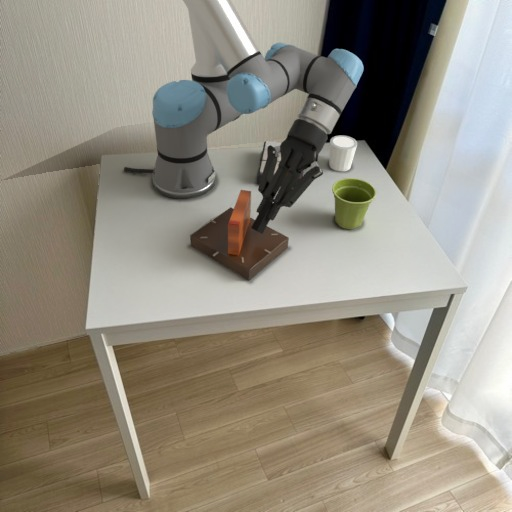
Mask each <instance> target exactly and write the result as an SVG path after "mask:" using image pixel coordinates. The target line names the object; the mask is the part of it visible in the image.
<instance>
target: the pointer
mask: <svg viewBox="0 0 512 512" xmlns="http://www.w3.org/2000/svg"><path fill="white" fill-rule="evenodd" d="M251 206H252V190H246V189H240V191H239V194H238V197H237V199H236V202H235V205H234V206H233V209H234V210H233V213H232V215H231V218H230V221H229V224H228V254H231V255H238V256H239V253H240V250H241V247H242V244H243V240H244V237H245V234H246V231H247V228H248V225H249V222H250V218H251Z"/></svg>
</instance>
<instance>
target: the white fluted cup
mask: <svg viewBox="0 0 512 512" xmlns="http://www.w3.org/2000/svg"><path fill="white" fill-rule="evenodd" d="M357 146H358V141H357V140H356V139H355V138H353V137H351V136H349V135H335V136H332V137H331V138H330V139H329V158H328V159H329V160H328V165H329V168H330V169H332V170H333V171H336V172H347V171H349V170H351V167H352V165H353V164H352V163H353V160H354V157H355V153H356V150H357V148H358V147H357Z"/></svg>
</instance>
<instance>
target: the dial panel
mask: <svg viewBox="0 0 512 512" xmlns="http://www.w3.org/2000/svg"><path fill="white" fill-rule="evenodd" d="M233 210H234V207H231V206H230V207H229V208H227V209H226V210H224V211H223V212H222V213H220V214H219V215H217V216H216V217H214V218H213V219H210V220H209V222H206V224H204V225H202V226H201V227H200V228H199V229H197V230H196V231H193V233H191V234H190V235H189V239H190V240H189V241H190V247H192V248H193V249H195V250H197V251H198V252H199V253H202V254H204V255H205V256H207V257H208V258H210V259H212V260H213V261H215V262H217V263H219V264H220V265H222V266H223V267H225V268H227V269H229V270H230V271H232V272H233V273H235V274H237V275H239V276H240V277H241V278H244V279H245V280H247V281H251V280H252V279H253V278H255V276H256V275H258V274H259V273H260V272H261V271H263V270H264V269H265V268H267V266H269V265H270V264H271V263H272V262H273V261H275V260H276V259H277V258H278V257H280V255H282V254H283V253H284V252H285V251H286V250H287V249H288V247H289V239H290V237H289V236H287V235H285V234H283V233H281V232H279V231H277V230H276V229H273V228H271V227H269V226H268V225H267V226H266V228H265V230H264V232H263V234H261V233H259V232H257V231H256V230H254V229H252V228H251V227H252V225H253V223H254V221H255V220H256V219H254V218H252V217H250V222H249V225H248V228H247V231H246V234H245V237H244V240H243V244H242V247H241V250H240V253H239V256H238V255H231V254H228V224H229V221H230V218H231V215H232V213H233Z"/></svg>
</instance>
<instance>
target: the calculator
mask: <svg viewBox="0 0 512 512" xmlns="http://www.w3.org/2000/svg"><path fill="white" fill-rule="evenodd" d="M281 143H282V142H279V141H270V140H265V141H264V142H263V145H262V150H261V156H260V159H259V165H258V168H257V169H258V170H257V175H256V176H257V178H256V180H257V181H256V183H257V185H259V184H260V180H261V177H262V174H263V170H264V167H265V163H266V160H267V157H268V155H267V147H268V146H270V145H271V146H273V147H276V146H280V145H281ZM280 161H281V153H280V156H279V157H277V164H276V167H275V171H274V174H275V173H276V171H277V169H278V165H279V163H280ZM274 174H273V176H274ZM287 174H288V173H287ZM303 175H304V171H303V172H302V173H301V175H300V177H299V178H297V180H296V182H295V184H294V186H295V185H296V184H297V183H298V181H299V180H300V179H301V178H302V177H303ZM286 176H287V175H286ZM285 178H286V177H285ZM284 180H285V179H284ZM283 182H284V181H283ZM281 185H282V184H281ZM294 186H293V187H294Z"/></svg>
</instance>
